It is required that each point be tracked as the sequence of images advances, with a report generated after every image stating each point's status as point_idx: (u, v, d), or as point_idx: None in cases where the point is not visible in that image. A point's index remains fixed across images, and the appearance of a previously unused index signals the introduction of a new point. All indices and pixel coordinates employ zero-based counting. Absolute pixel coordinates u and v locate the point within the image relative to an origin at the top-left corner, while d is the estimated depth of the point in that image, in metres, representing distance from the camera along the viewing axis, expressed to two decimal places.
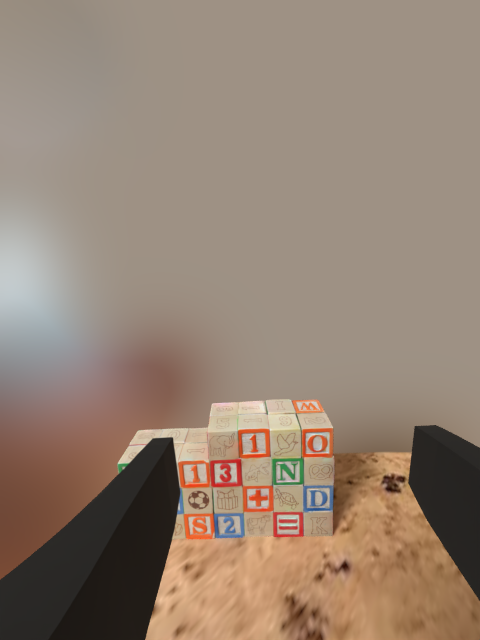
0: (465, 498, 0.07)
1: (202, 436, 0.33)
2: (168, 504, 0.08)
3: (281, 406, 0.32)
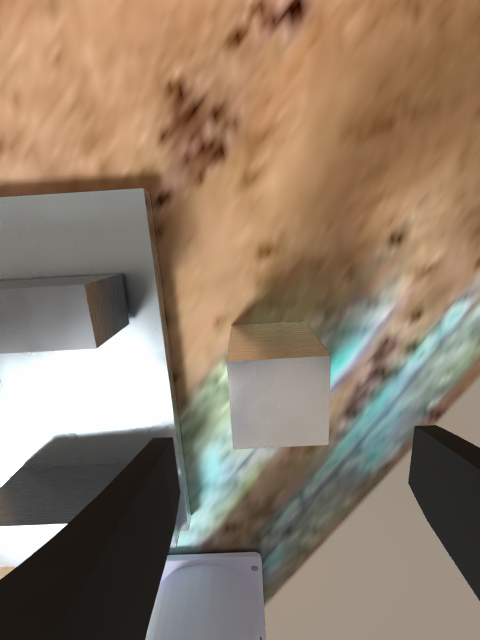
0: (465, 498, 0.07)
1: None
2: (168, 504, 0.08)
3: None
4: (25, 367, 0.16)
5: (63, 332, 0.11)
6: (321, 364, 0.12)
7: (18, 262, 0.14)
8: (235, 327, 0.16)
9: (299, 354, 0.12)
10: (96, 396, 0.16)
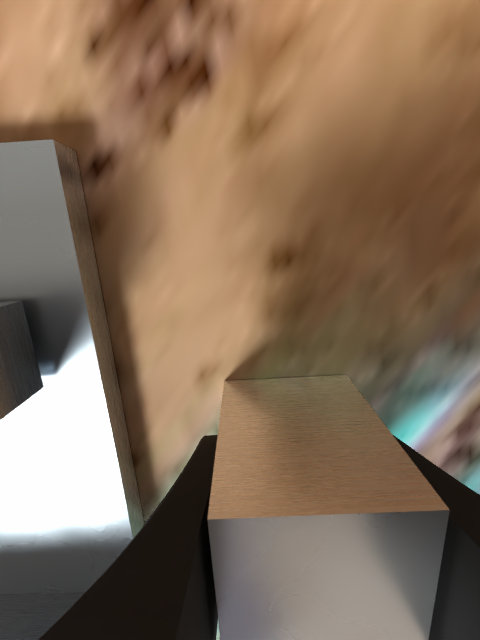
0: None
1: None
2: None
3: None
4: None
5: None
6: (425, 526, 0.05)
7: None
8: (231, 388, 0.09)
9: (371, 496, 0.05)
10: (1, 497, 0.10)
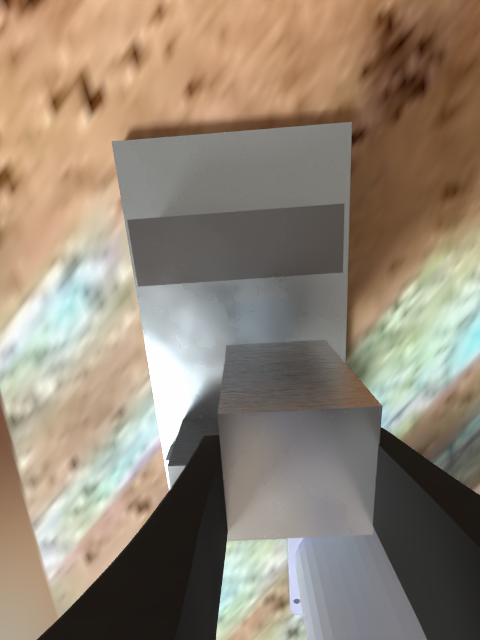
0: (397, 501, 0.07)
1: None
2: (224, 502, 0.08)
3: None
4: (204, 313, 0.16)
5: (313, 255, 0.11)
6: (366, 418, 0.07)
7: (214, 202, 0.14)
8: (232, 349, 0.12)
9: (330, 401, 0.08)
10: (271, 342, 0.16)
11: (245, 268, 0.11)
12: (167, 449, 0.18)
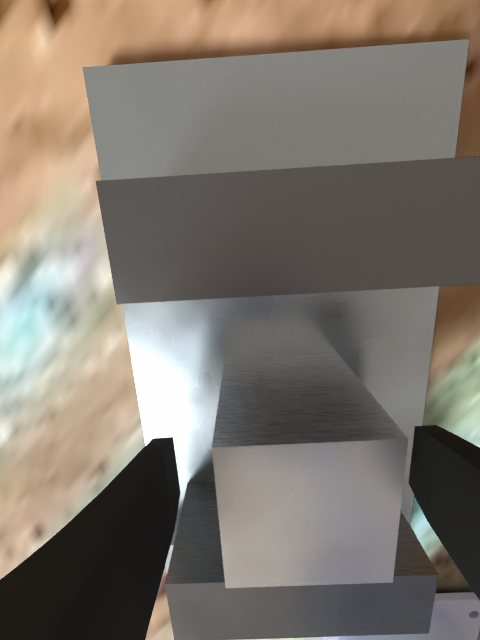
0: (465, 498, 0.07)
1: None
2: (168, 504, 0.08)
3: None
4: (222, 337, 0.11)
5: (435, 252, 0.06)
6: (389, 453, 0.06)
7: (242, 169, 0.09)
8: (231, 360, 0.10)
9: (346, 431, 0.06)
10: None
11: (310, 274, 0.06)
12: None
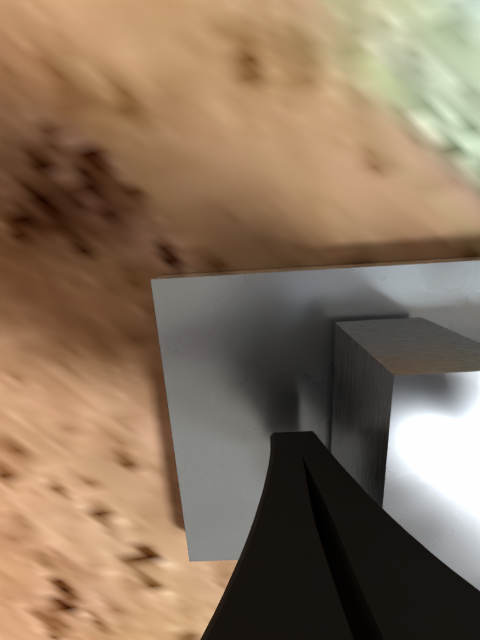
0: None
1: None
2: None
3: None
4: None
5: None
6: None
7: (260, 462, 0.10)
8: None
9: None
10: None
11: (479, 533, 0.06)
12: None
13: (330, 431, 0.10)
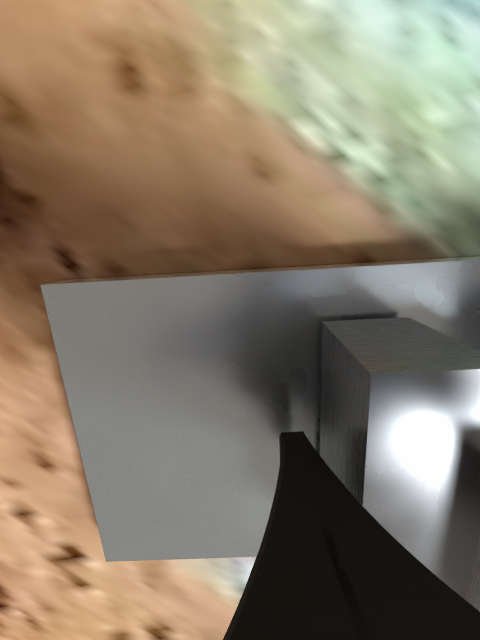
0: None
1: None
2: None
3: None
4: None
5: (463, 426, 0.06)
6: None
7: (166, 464, 0.10)
8: None
9: None
10: None
11: (460, 531, 0.06)
12: None
13: (231, 434, 0.10)
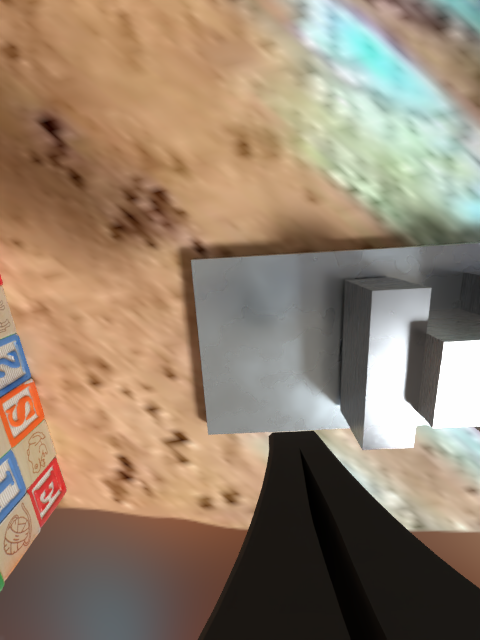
0: (311, 504, 0.07)
1: None
2: None
3: None
4: None
5: (412, 314, 0.13)
6: (451, 349, 0.12)
7: (251, 368, 0.18)
8: None
9: (435, 365, 0.13)
10: None
11: (413, 369, 0.14)
12: None
13: (290, 348, 0.17)
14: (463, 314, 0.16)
